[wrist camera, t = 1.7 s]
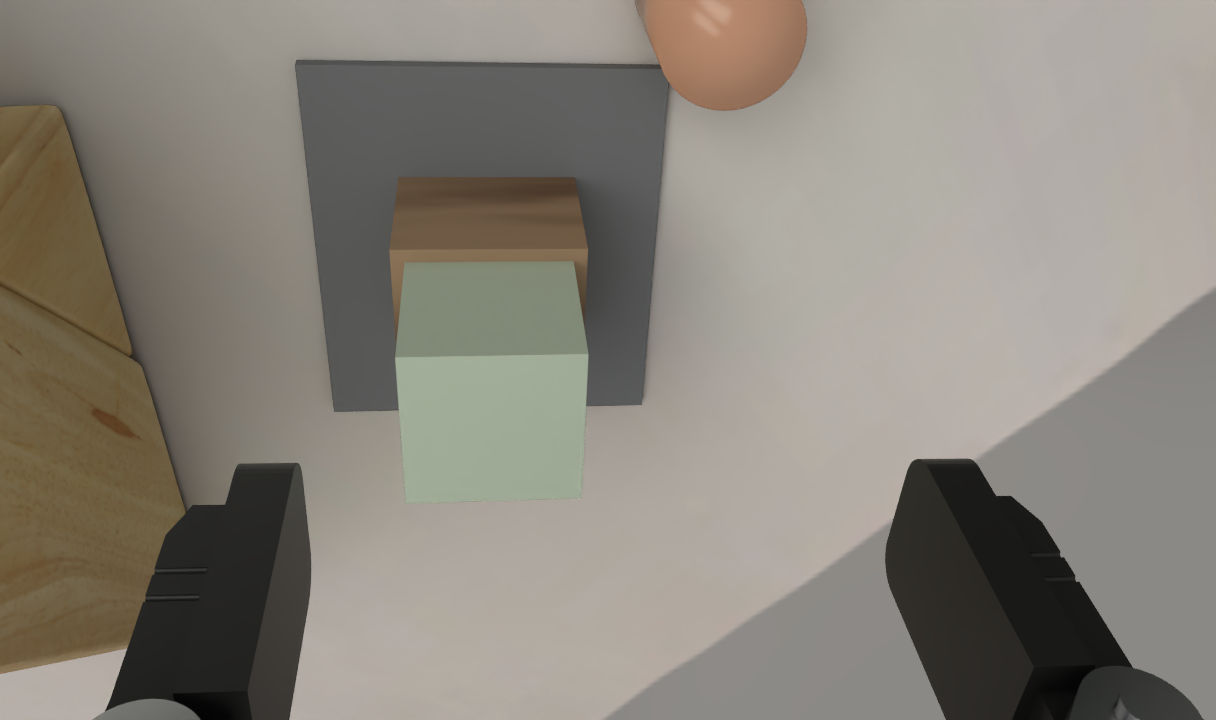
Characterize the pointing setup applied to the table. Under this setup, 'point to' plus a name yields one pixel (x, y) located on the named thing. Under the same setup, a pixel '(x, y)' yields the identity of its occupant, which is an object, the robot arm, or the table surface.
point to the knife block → (68, 417)
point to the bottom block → (486, 224)
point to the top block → (491, 381)
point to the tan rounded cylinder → (725, 47)
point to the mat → (480, 147)
